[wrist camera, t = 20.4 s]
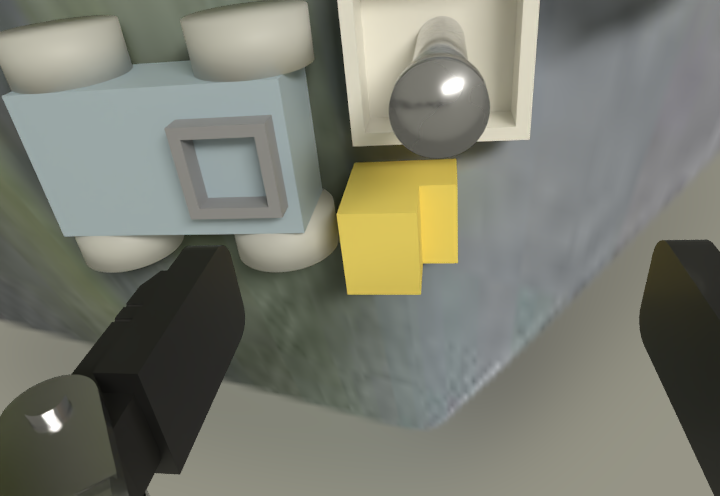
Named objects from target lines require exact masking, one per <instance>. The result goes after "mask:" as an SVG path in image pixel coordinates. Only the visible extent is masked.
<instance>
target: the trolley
mask: <svg viewBox="0 0 720 496" xmlns="http://www.w3.org/2000/svg"><path fill="white" fill-rule="evenodd" d="M180 22H181V26H182V30H183V34H184V38H185V42H186V45H187V49H188V53H189V57H190V60H189V61H175V62H160V63H146V64H132V63H131V59H130V56H129V53H128V50H127V46H126V43H125V40H124V37H123V33H122V30H121V27H120V24H119V20H118V17H117V16H113V15H94V16H82V17H73V18H66V19H59V20H52V21H46V22H41V23H35V24H30V25H25V26H21V27H16V28H12V29H8V30H5V31H1V32H0V66H1V68H2V70H3V72H4V75H5V77H6V79H7V82H8V84H9V86H10V89H11V91H12V92H10V93H8V94H5V95H3V96H2V98H3V100H4V102H5V105H6V107H7V109H8V111H9V114H10V116H11V118H12V120H13V123H14V125H15V127H16V129H17V132H18V134H19V136H20V138H21V140H22V143H23V145H24V147H25V149H26V152H27V154H28V156H29V158H30V161H31V163H32V165H33V167H34V170H35V172H36V174H37V176H38V179H39V181H40V183H41V185H42V188H43V190H44V192H45V194H46V197H47V199H48V201H49V203H50V206H51V208H52V210H53V212H54V215H55V217H56V219H57V221H58V224H59V226H60V228H61V230H62V233H63V235H64V236H75V239H76V241H77V243H78V245H79V248H80V250H81V252H82V255H83V257H84V259H85V262H86V264H87V265H88V266H89V267H90V268H91V269H93V270H96V271H100V272H108V273H114V272H125V271H130V270H135V269H139V268H142V267H145V266H148V265H150V264H153V263H155V262H157V261H159V260H161V259H163V258H165V257H166V256H168V255H170V254H171V253H172V252H174V251H175V250H176V249H177V248H178V247H179V246H180V244H181V243H182V241H183V239H184V235H203V234H234V236H235V240H236V244H237V248H238V252H239V256H240V258H241V260H242V261H243V263H244V264H246V265H247V266H249V267H251V268H253V269H256V270H260V271H265V272H288V271H294V270H299V269H303V268H306V267H309V266H311V265H314V264H316V263H318V262H320V261H322V260H323V259H325V258H326V257H328V256H329V255H330V254H331V253H332V252H333V251H334V250H335V248H336V247H337V245H338V241H339V236H338V228H337V221H336V213H335V206H334V199H333V196H332V195H331V194H330V193H329V192H328V191H327V190H325V189H323V188H322V183H321V176H320V170H319V163H318V156H317V149H316V142H315V135H314V128H313V121H312V114H311V107H310V100H309V93H308V87H307V80H306V73H305V66H307V65H309V64H311V63H312V62H313V61H314V59H315V56H314V49H313V42H312V34H311V27H310V19H309V12H308V4H307V2H305V1H300V0H269V1H257V2H248V3H240V4H233V5H227V6H221V7H216V8H211V9H206V10H202V11H198V12H195V13H192V14H189V15H186V16H184V17H182V18H181V19H180Z"/></svg>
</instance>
